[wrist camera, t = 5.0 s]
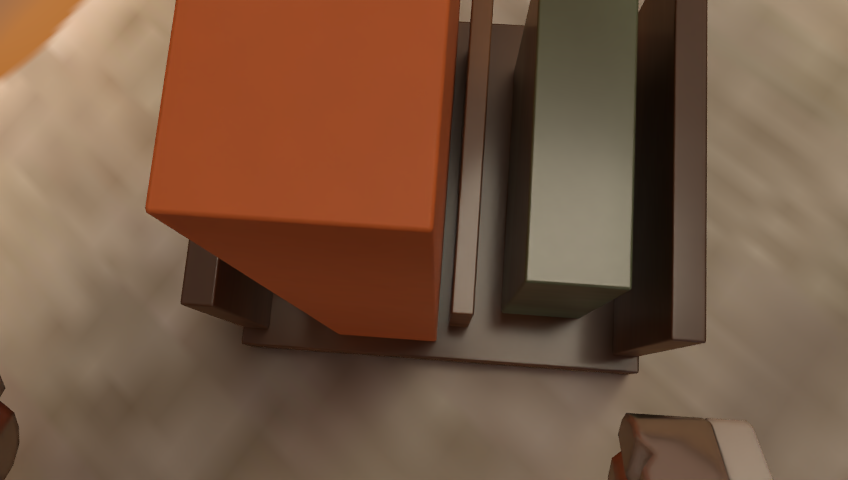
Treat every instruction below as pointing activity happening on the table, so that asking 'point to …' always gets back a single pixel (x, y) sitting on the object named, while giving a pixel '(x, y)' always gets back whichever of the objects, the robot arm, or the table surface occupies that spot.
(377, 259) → the book
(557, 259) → the rack
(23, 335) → the table surface
